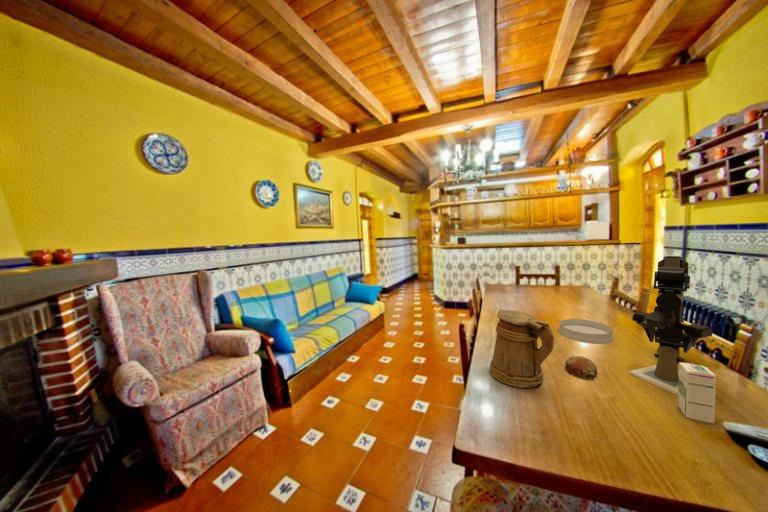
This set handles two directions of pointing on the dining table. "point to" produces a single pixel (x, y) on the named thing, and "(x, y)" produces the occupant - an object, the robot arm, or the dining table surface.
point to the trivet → (655, 379)
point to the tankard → (520, 349)
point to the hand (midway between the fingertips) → (667, 347)
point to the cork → (667, 364)
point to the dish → (586, 331)
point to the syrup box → (696, 392)
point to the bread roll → (581, 367)
